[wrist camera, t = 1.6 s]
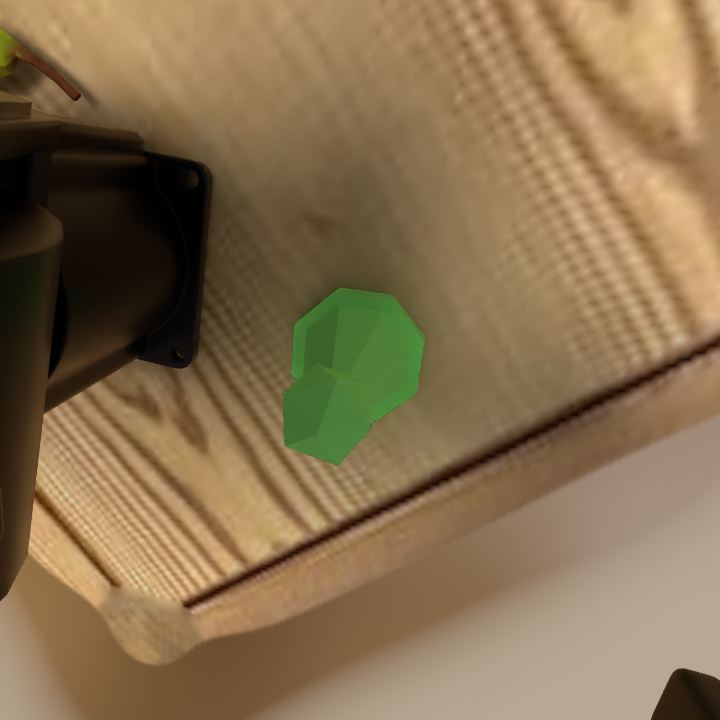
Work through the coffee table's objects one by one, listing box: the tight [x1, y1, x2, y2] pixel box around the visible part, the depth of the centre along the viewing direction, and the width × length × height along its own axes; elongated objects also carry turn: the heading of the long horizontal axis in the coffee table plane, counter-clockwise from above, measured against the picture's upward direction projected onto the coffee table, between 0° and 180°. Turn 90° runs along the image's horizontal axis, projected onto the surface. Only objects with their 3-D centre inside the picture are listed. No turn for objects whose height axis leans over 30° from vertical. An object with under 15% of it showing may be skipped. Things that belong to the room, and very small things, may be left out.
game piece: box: [283, 287, 425, 466], centre depth 15 cm, size 4×4×6 cm
